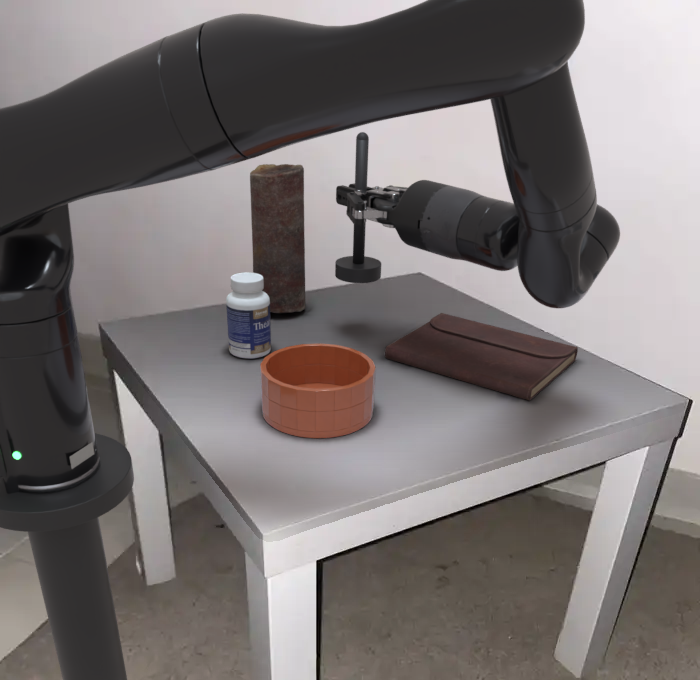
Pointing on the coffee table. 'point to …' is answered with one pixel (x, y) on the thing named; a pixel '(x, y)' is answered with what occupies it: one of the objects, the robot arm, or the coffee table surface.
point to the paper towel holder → (359, 230)
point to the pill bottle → (248, 316)
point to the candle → (279, 234)
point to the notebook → (484, 355)
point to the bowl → (317, 390)
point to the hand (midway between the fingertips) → (344, 193)
